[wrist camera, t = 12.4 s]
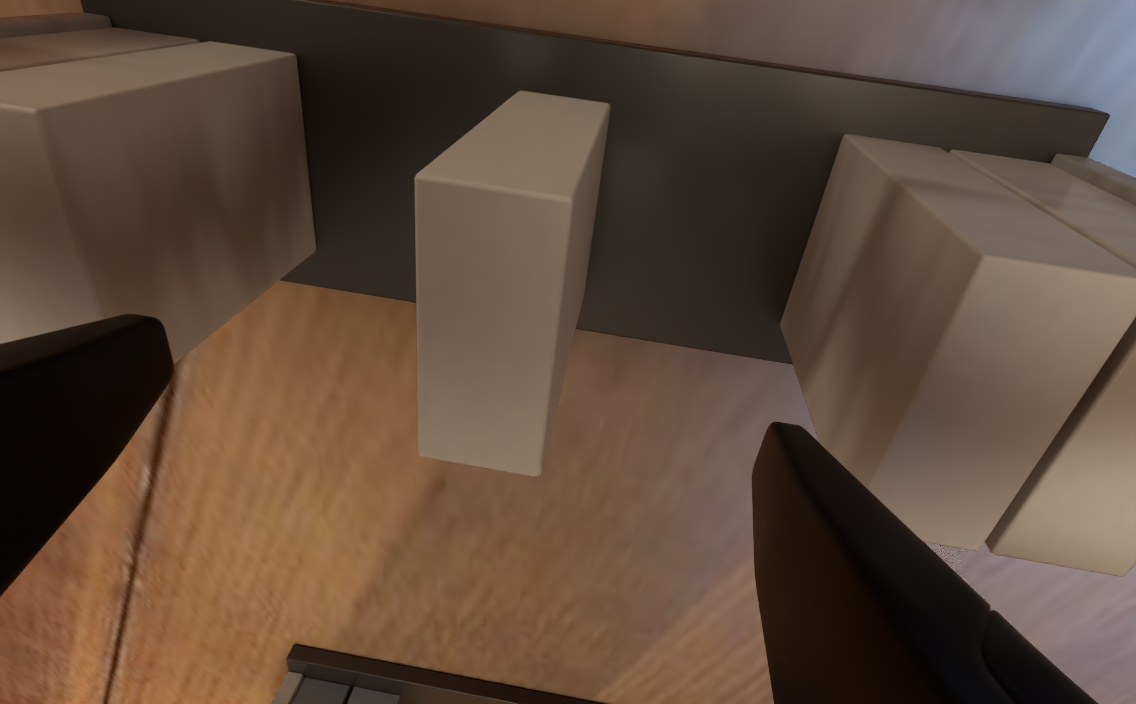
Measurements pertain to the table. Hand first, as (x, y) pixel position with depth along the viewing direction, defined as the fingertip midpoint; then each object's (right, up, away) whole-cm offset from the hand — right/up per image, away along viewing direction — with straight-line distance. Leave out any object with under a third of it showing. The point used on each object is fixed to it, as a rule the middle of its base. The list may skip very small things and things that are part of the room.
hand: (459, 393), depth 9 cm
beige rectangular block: (+1, +5, +8) cm, 10 cm away
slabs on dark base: (+1, +5, +9) cm, 10 cm away
